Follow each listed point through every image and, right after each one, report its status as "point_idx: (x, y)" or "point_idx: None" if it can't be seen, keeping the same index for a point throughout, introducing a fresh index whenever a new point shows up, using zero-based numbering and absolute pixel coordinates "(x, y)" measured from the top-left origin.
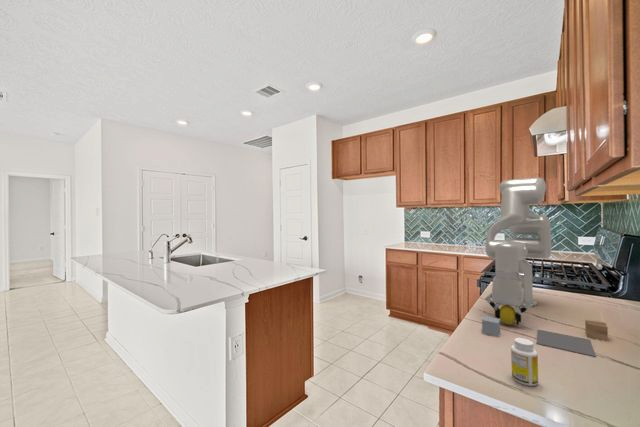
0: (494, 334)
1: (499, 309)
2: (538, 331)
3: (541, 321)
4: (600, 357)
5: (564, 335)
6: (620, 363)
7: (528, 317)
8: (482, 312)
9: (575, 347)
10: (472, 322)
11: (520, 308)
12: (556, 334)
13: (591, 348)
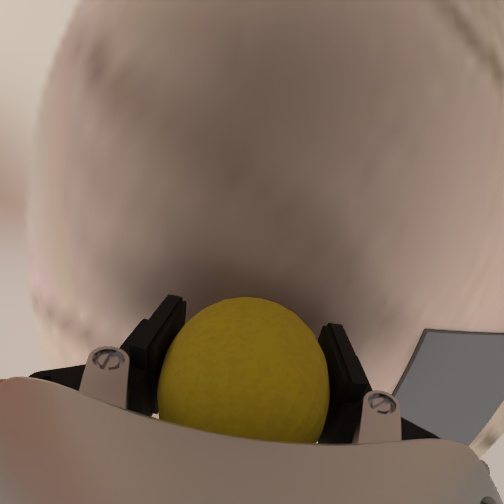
0: None
1: (151, 363)
2: (415, 365)
3: (485, 124)
4: (469, 446)
5: (496, 348)
6: (483, 446)
7: (424, 54)
8: (82, 90)
9: (452, 438)
10: (61, 350)
11: (391, 439)
12: (475, 356)
13: (491, 414)
